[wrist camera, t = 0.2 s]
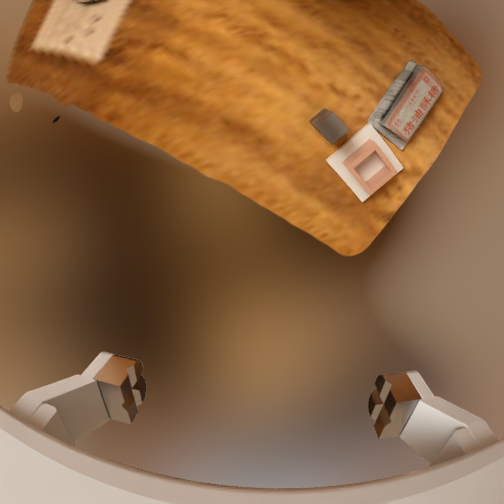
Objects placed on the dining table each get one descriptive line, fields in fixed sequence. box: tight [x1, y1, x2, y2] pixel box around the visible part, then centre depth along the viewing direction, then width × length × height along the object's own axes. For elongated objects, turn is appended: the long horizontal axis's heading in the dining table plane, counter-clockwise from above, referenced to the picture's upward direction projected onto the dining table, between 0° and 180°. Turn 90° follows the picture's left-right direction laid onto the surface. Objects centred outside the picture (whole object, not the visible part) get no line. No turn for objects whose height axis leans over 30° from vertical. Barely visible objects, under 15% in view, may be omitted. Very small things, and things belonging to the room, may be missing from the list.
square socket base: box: [326, 123, 403, 202], centre depth 51 cm, size 12×12×5 cm
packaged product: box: [367, 60, 443, 150], centre depth 44 cm, size 18×5×10 cm
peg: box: [309, 108, 349, 145], centre depth 46 cm, size 4×4×9 cm
